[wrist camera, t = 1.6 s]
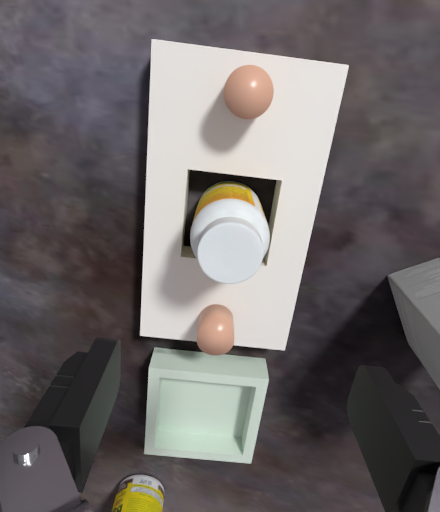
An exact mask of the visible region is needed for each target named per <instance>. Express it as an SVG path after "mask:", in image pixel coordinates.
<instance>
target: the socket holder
mask: <svg viewBox="0 0 440 512" xmlns="http://www.w3.org/2000/svg"><path fill="white" fill-rule="evenodd" d="M348 67H349V65H344V64H337V63H329V62H321V61H314V60H306V59H299V58H291V57H284V56H276V55H269V54H261V53H254V52H246V51H238V50H231V49H223V48H216V47H208V46H201V45H193V44H186V43H178V42H171V41H163V40H156V39H152V44H151V69H150V94H149V120H148V145H147V170H146V196H145V221H144V246H143V272H142V297H141V322H140V336H147V337H157V338H167V339H177V340H187V341H196V342H197V345H198V347H199V348H200V349H201V350H202V351H203V352H204V353H206V354H209V355H215V356H216V355H222V354H225V353H227V352H228V351H229V350H230V349H231V348H232V347H233V345H236V346H246V347H255V348H265V349H275V350H285V347H286V343H287V339H288V334H289V330H290V325H291V321H292V316H293V312H294V307H295V303H296V299H297V294H298V290H299V285H300V281H301V276H302V272H303V267H304V263H305V258H306V254H307V250H308V245H309V241H310V236H311V232H312V227H313V223H314V218H315V214H316V210H317V205H318V201H319V196H320V192H321V187H322V183H323V178H324V174H325V170H326V165H327V161H328V156H329V152H330V147H331V143H332V138H333V134H334V130H335V125H336V121H337V116H338V112H339V107H340V103H341V98H342V94H343V90H344V85H345V81H346V76H347V72H348ZM190 170H198V171H206V172H215V173H223V174H232V175H240V176H248V177H257V178H265V179H273V180H276V186H275V191H274V197H273V203H272V208H271V214H270V220H269V225H268V227H269V232H270V242H269V247H268V250H267V252H266V254H265V256H264V258H263V260H262V263H261V265H260V267H259V269H258V270H257V272H256V273H255V274H254V275H253V276H252V277H250V278H249V279H247V280H245V281H243V282H240V283H235V284H225V283H220V282H217V281H215V280H213V279H211V278H210V277H208V276H207V275H206V274H205V273H204V272H203V270H202V269H201V267H200V265H199V262H198V260H197V258H196V257H195V255H194V253H193V250H192V247H191V246H184V235H185V223H186V212H187V200H188V188H189V176H190Z"/></svg>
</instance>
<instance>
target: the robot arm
mask: <svg viewBox="0 0 440 512" xmlns="http://www.w3.org/2000/svg"><path fill="white" fill-rule="evenodd" d="M120 364H121V342H120V340H116V339H106V338H96V339H95V341H94V343H93V345H92V346H91V348H90V350H89V352H88V353H85V352H76V353H75V354H74V355H73V356H71V357H70V358H69V359H67V360H66V361H65V362H64V363H63V365H62V366H61V368H60V370H59V371H58V373H57V376H55V378H54V380H53V381H52V383H51V386H50V387H49V388H48V389H47V391H46V393H45V394H44V396H43V398H42V399H41V401H40V403H39V404H38V406H37V408H36V409H35V411H34V412H33V414H32V416H31V417H30V419H29V421H28V422H27V424H26V426H25V427H24V428H23V429H20V430H17V431H15V432H13V433H12V434H10V435H9V436H7V437H6V438H5V439H4V440H3V441H1V443H0V512H93V511H92V509H91V507H90V505H89V503H88V501H87V500H83V501H82V499H81V497H80V495H79V493H78V492H83V489H84V486H85V484H86V481H87V478H88V475H89V472H90V470H91V467H92V464H93V461H94V458H95V456H96V453H97V450H98V447H99V445H100V442H101V439H102V436H103V433H104V431H105V428H106V425H107V422H108V419H109V417H110V414H111V411H112V408H113V406H114V403H115V400H116V397H117V394H118V390H119V384H120ZM347 415H348V419H349V422H350V424H351V427H352V429H353V432H354V434H355V437H356V439H357V442H358V444H359V447H360V449H361V452H362V454H363V457H364V459H365V462H366V464H367V467H368V469H369V472H370V474H371V477H372V479H373V482H374V485H375V487H376V490H377V492H378V495H379V497H380V500H381V502H382V505H383V507H384V510H385V512H440V435H439V434H438V432H437V431H436V429H435V428H434V426H433V425H432V424H430V420H429V418H428V417H427V415H426V414H425V413H424V412H423V409H422V408H421V406H420V405H419V403H418V402H417V400H416V398H415V397H414V396H413V395H412V394H411V393H410V392H409V391H408V390H406V389H405V388H404V387H403V386H402V385H401V384H395V382H394V380H393V379H392V377H391V375H390V374H389V372H388V371H387V369H386V368H385V367H379V366H369V365H360V366H359V367H358V369H357V372H356V375H355V378H354V381H353V384H352V388H351V391H350V394H349V397H348V400H347Z"/></svg>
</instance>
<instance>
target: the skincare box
mask: <svg viewBox="0 0 440 512" xmlns="http://www.w3.org/2000/svg"><path fill="white" fill-rule="evenodd" d="M388 280H389V283H390V287H391V290H392V293H393V297H394V300H395V303H396V306H397V310H398V313H399V316H400V319H401V323H402V326H403V329H404V332H405V335H406V339H407V342H408V344H409V345H410V347H411V348H412V350H413V351H414V353H415V354H416V356H417V357H418V358H419V360H420V361H421V363H422V364H423V366H424V367H425V369H426V370H427V372H428V373H429V375H430V376H431V377H432V379H433V380H434V382H435V383H436V385H437V386H438V388H439V389H440V257H439V258H436V259H433V260H431V261H428V262H425V263H422V264H419V265H416V266H413V267H410V268H407V269H404V270H401V271H398V272H395V273H392V274H390V275H388Z"/></svg>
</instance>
